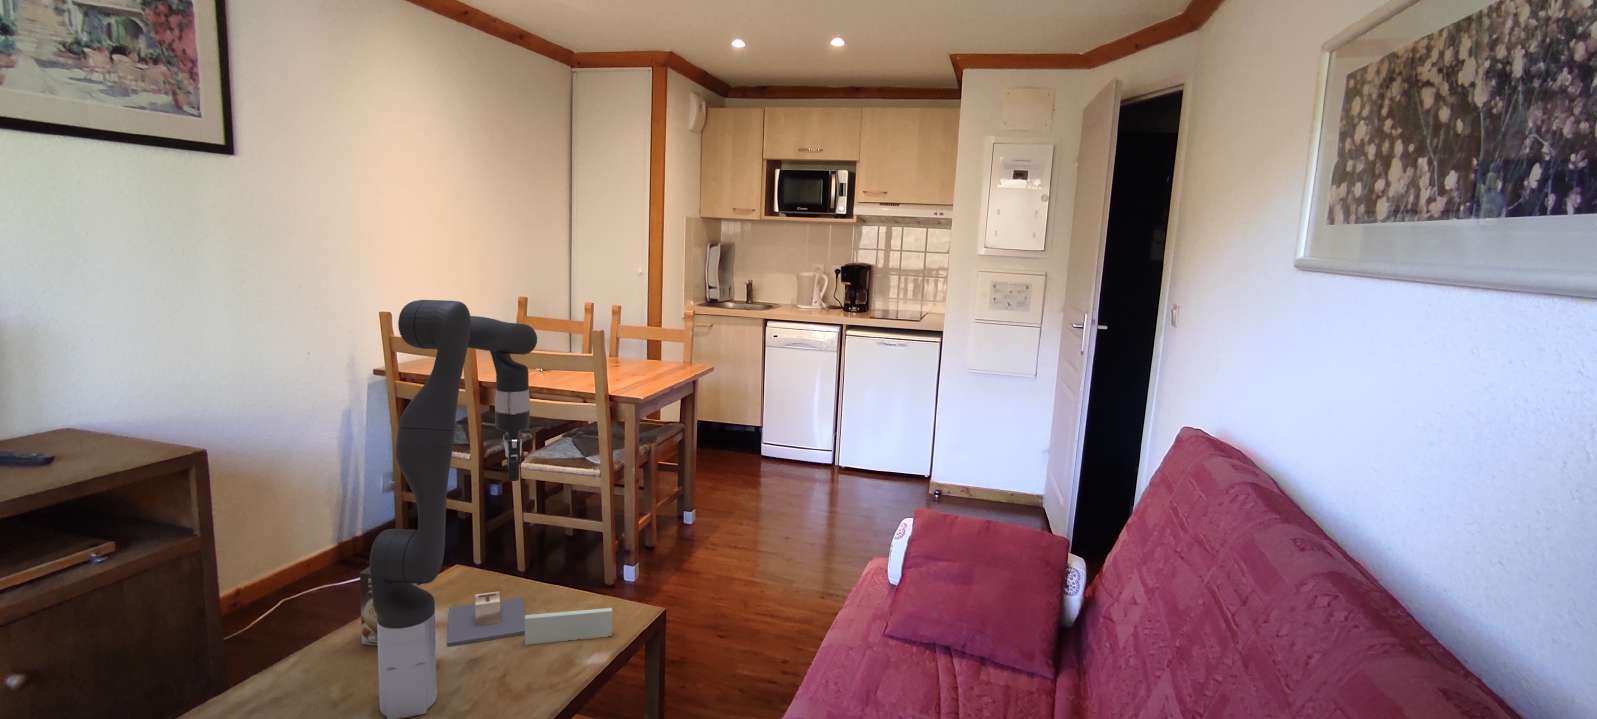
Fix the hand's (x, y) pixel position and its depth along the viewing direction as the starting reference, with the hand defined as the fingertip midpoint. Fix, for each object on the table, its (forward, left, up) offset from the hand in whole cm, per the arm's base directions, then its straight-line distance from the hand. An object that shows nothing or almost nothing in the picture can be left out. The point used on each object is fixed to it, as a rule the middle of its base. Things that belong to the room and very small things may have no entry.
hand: (512, 474), depth 170 cm
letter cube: (-12, +6, -29) cm, 32 cm away
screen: (-25, -10, -30) cm, 40 cm away
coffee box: (-13, +25, -30) cm, 41 cm away
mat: (-12, +6, -30) cm, 33 cm away
